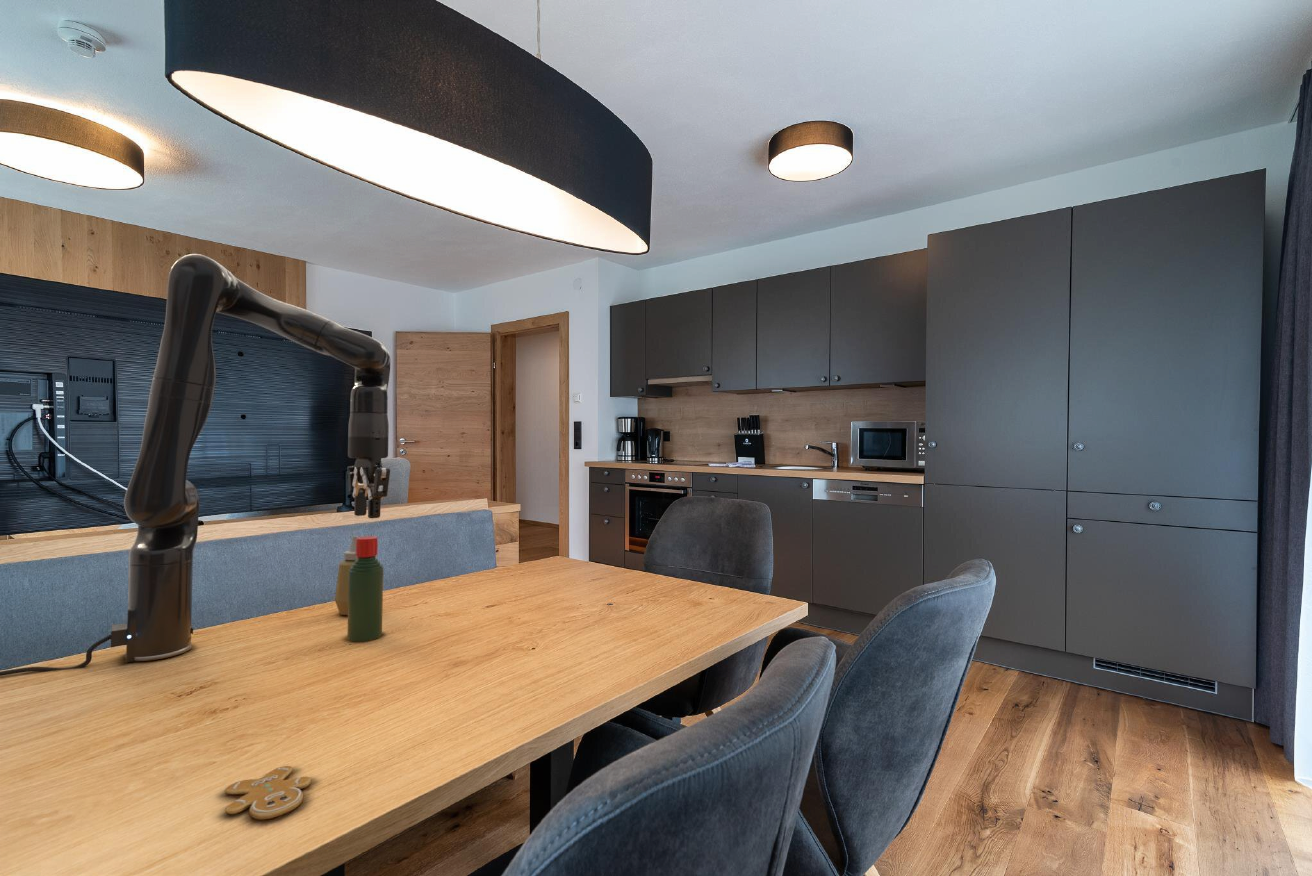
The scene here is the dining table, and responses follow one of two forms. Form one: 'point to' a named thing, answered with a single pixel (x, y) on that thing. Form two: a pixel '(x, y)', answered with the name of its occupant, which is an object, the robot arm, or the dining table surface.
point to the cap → (366, 546)
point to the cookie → (268, 794)
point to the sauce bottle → (365, 599)
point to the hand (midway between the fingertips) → (367, 516)
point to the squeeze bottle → (345, 578)
